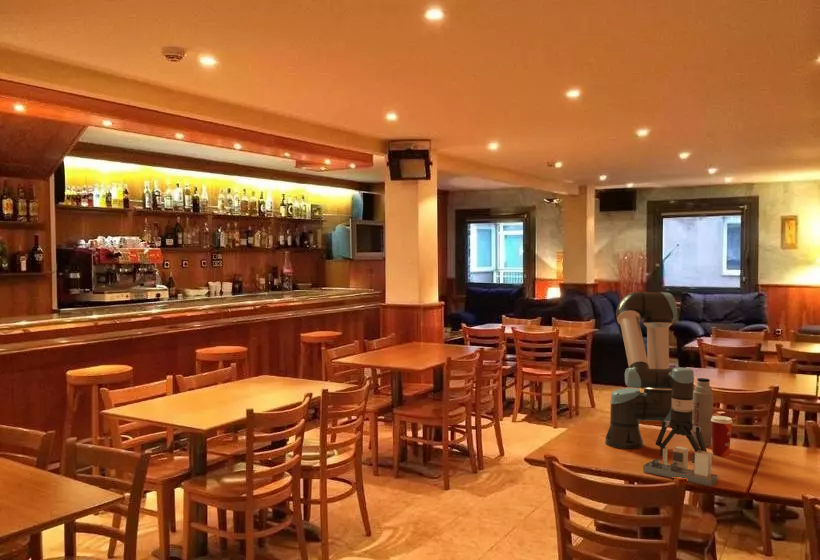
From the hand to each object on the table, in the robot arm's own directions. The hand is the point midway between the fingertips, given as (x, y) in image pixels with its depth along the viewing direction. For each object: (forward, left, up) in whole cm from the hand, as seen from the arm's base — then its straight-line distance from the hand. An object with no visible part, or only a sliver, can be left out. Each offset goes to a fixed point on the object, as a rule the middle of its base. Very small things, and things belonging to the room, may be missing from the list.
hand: (680, 468), depth 260 cm
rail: (+3, -9, -1) cm, 10 cm away
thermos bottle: (-6, +43, -1) cm, 43 cm away
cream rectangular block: (0, 0, -1) cm, 1 cm away
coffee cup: (+5, +32, -1) cm, 32 cm away
